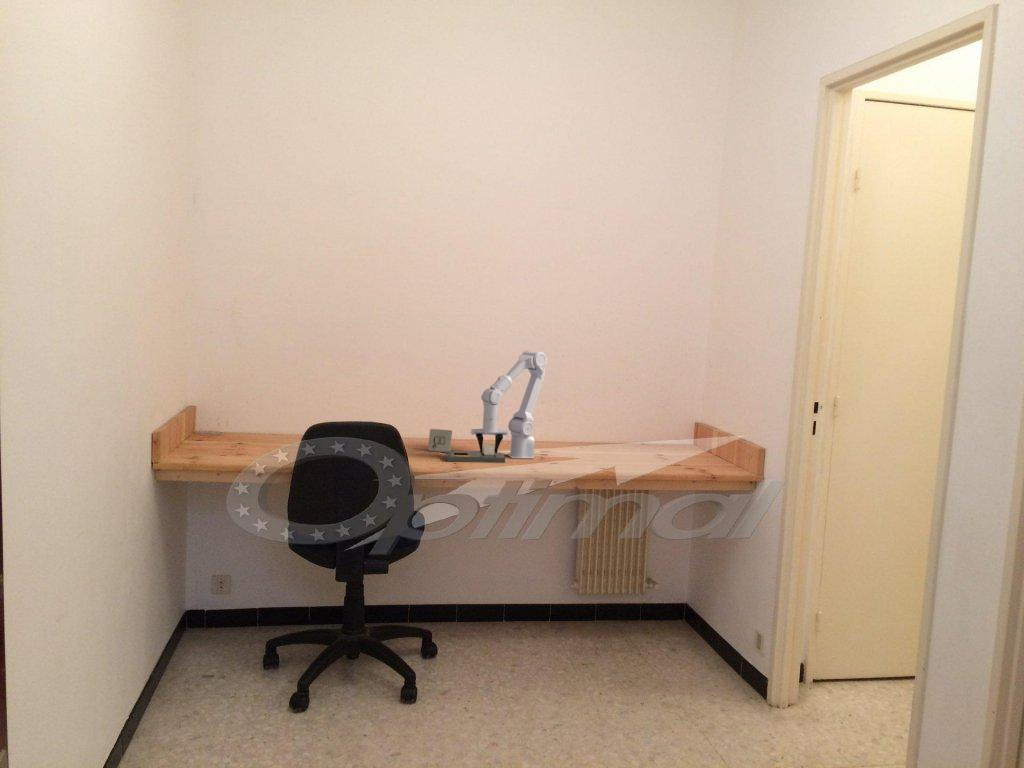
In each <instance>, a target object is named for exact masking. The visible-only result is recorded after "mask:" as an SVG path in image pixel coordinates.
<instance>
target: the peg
mask: <svg viewBox="0 0 1024 768" xmlns="http://www.w3.org/2000/svg"><path fill="white" fill-rule="evenodd" d="M494 452H495V444H493V443H492V444H491V443H483V456H494Z"/></svg>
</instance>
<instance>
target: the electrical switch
mask: <svg viewBox="0 0 1024 768" xmlns="http://www.w3.org/2000/svg"><path fill="white" fill-rule="evenodd" d="M452 435H453V431H452V430H451V429H440V428H439V429H438V428H437V429H436V428H430V429H429V434H428V447H427V450H428V452H436V453H445V451H448V452H452V449H451V448H452Z"/></svg>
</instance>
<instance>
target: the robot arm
mask: <svg viewBox="0 0 1024 768" xmlns="http://www.w3.org/2000/svg"><path fill="white" fill-rule="evenodd" d="M547 364H548V358H547V356H546V353H544V352H542V351H535V350H530V349H529V350H528V349H526V350H524V351H523V352H522V353H521V354H519V356H518V360H517V361H516V362H515V364H513V366H512V367H511V368H510V370H508V371H507V373H506V374H505V375H504V374H503V375H500V376H498V377H497V379H496V381H495V382H494V383H493V384H490V386H489V388H486V389H485V390H484V391H483V392H482V394H481V395H480V397H481V400H482V402H483V415H482V416H483V417H482V428H471V430H470V433H471V435H475V436H476V439H477V442H478V445H479V452H480V453H482V452H483V444H484V436H483V435H487V436H488V435H489V436H494V437H495V438H494V439H495V441H494V442H495V443H494V446H495V448H494V452H495V453H498V449H499V447H500V444H501V443H502V441H503V439H504V436H508V433H509V432H510V435H511V436H510V437H511V438H510V452H509V453H508V454H507V455H508V457H510V458H511V459H534V458H535V457H534V455H535V454H534V453H535V437H534V435H532V433H533V432H534V422H535V419H534V417H533V415H532V414H533V412H534V409H535V407H536V404H537V400H538V397H539V394H540V391H541V388H542V386H543V382H544V380H545V377H546V367H547ZM525 370H528V371H529V373H530V377H529V380H528V383H527V386H526V388H525V392H524V395H523V397H522V401H521V403H520V407H519V410H518V411H516V412H515V413H513V416H512V418H511V419H510V420H509V421H508V426H507V427H508V429H509V430H507V429H498V419H499V418H498V417H499V416H498V415H499V404H500V403H501V402H502V400H503V396H504V394H505V393H506V392H507V391H508V390H509V389H510V388H511V387H512V386H513V381H514V380H515V378H517V377H518V376H519V375H520V374H521V373H522V372H524V371H525Z"/></svg>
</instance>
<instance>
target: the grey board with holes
mask: <svg viewBox="0 0 1024 768" xmlns="http://www.w3.org/2000/svg"><path fill="white" fill-rule="evenodd" d="M444 459H445V461H446V462H452V463H461V462H462V463H463V462H464V463H496V464H497V463H503V464H505V463H506V457H505V456H504V454H503V453H502V452H497V453H495V451H494V456H483V452H482V453H480V451H450V452H448V451H445V452H444Z"/></svg>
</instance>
